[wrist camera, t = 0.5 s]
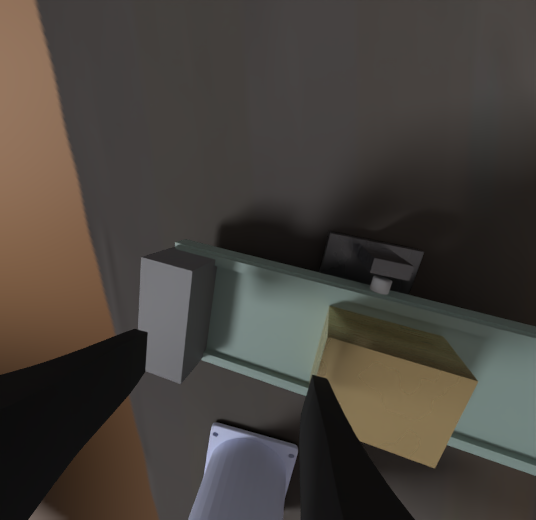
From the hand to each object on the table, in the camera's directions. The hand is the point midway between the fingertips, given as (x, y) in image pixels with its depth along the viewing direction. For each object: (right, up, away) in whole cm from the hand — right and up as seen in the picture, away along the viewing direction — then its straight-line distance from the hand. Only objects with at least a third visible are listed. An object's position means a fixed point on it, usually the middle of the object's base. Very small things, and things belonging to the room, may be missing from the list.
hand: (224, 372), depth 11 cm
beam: (+7, -1, +5) cm, 9 cm away
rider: (+8, -1, +4) cm, 9 cm away
